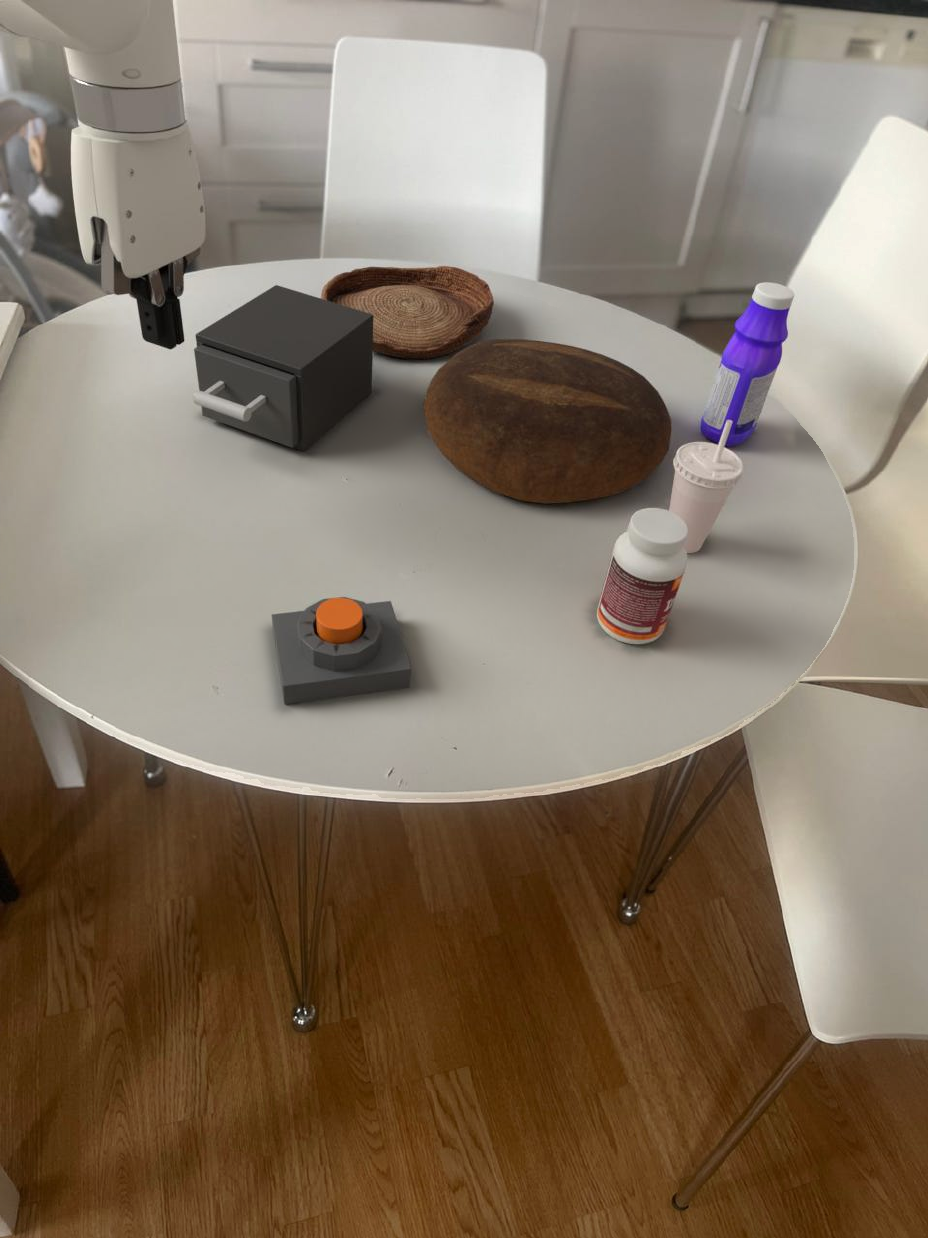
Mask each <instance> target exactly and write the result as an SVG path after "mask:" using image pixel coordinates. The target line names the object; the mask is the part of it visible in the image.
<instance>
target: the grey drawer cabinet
mask: <svg viewBox="0 0 928 1238" xmlns="http://www.w3.org/2000/svg"><path fill="white" fill-rule="evenodd" d="M195 341H196V342H195V343H196V347H198V346H199V345H204V346H207V347H210V348H213V349H216V348H218V349H221V350H224V351H227V352H230V353H233V354H236V355H239V356H242V357H245V358H248V359H251V360H254V361H257V362H260V363H263V364H266V365H269V366H272V367H275V368H278V369H281V370H284V371H287V372H290V373H293V374H295V376H296V391H297V413H298V435H299V443H298V444H297V445H296V446H294V447H293V448H292V449H297V450H299V451H302V452H305V451H306V450H308V449H309V448H310V447H311V446H313V445H314V444H315V443H316V442H317V441H318V440H320V438H322V437H323V435H325V434H326V433H327V432H328V431H330V430H331V429H332V428H333V427H334V426H335V425H336V424H338V423H339V422H340V421H341V420H342V419H343V418H345V417H346V416H347V415H348V414H349V413H350V412H352V410H354V409H355V408H356V407H357V406H358V405H359V404H361V403H362V402H363V401H365V399H367V397H368V396H370V395H371V394H372V393H373V359H374V355H373V354H374V351H373V314H370V313H366V312H363V311H360V310H357V309H353V308H350V307H347V306H344V305H340V304H337V303H334V302H330V301H327V300H324V299H321V297H317V296H314V295H310V294H308V293H304V292H301V291H297V290H294V289H292V288H288V287H285V286H281V285H278V284H275V285H274V286H272V287H271V288H269V289H267V290H265V291H264V292H262V293H261V294H259V295H257V296H256V297H254V298H252V299H251V300H249V301H247V302H246V303H244V304H243V305H241V306H239V307H238V308H236V309H234V310H232V311H231V312H229V313H228V314H226V315H225V316H223V317H222V318H219V319H218V320H217V321H215V322H213V323H212V324H210V325H209V326H207V327H205V328H204V329H202V330H200V331H198V332H197V333H195Z"/></svg>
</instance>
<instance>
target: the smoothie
mask: <svg viewBox="0 0 928 1238" xmlns="http://www.w3.org/2000/svg"><path fill="white" fill-rule="evenodd" d="M732 423H733V422H732V421H731V420H727V421H726V424H725V427H724V430H723V433H722V436H721V438H720V441H719V444H718V443H714V442H707V441H693V442H688V443H685V444H683V445H680V447H679V448H678V449H677V450H676V453H675V455H674V457H673V461H672V465H673V467H674V475H673V482H672V488H671V495H670V501H669V508H668V511H670V512H672V513H674V514H676V515H677V516H679V517H680V518H681V519H682V520H683V521H684V522H685V524H686V525H687V528H688V533H687V537H686V541H685V545H684V546H683V547H684V548H685V550H686V553H687V554H695V553H697V552H698V551H699V550H701V548H702V547H703V544H704V543H705V540H706V539H707V538H708V535H709V533H710V531H711V529H712V527H713V525H714V524H715V522H716V520H717V518H718V517H719V514H720V513H721V511H722V510H723V507H724V505H725V503H726V502H727V500H728V498H729V496H730V494H731V492H732V490H733V488H734V487H735V486H736V485H738V484H739V483H740V481H741V480H742V478H743V473H744V470H745V466H744V461H742V459H741V458H740V456H738V455H737V454H736V453H735V452H734V451H732V450H731V449H729V448H727V447H726V446H725V443H726V440H727V437H728V434H729V432H730V429H731V426H732Z"/></svg>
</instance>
